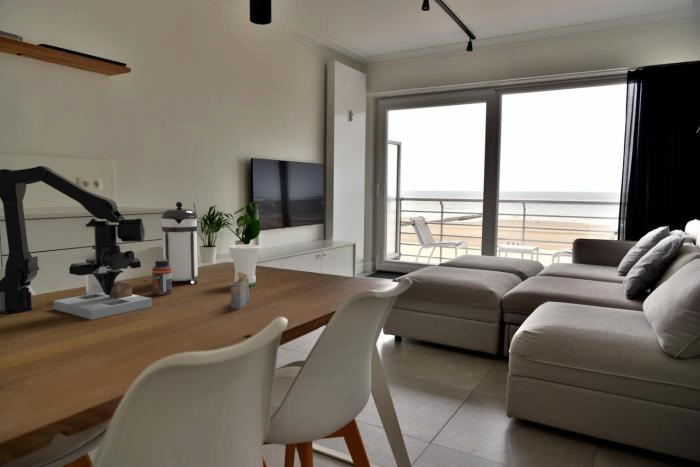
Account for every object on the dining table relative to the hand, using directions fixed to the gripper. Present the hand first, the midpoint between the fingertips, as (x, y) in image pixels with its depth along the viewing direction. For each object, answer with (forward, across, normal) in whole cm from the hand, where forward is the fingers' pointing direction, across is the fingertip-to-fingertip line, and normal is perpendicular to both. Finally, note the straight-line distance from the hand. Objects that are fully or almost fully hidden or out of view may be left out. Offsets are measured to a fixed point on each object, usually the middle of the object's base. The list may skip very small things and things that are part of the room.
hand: (107, 294), depth 145 cm
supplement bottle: (+4, +21, +3) cm, 21 cm away
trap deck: (+4, -1, 0) cm, 4 cm away
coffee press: (+4, +38, +16) cm, 41 cm away
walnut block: (+1, +4, 0) cm, 4 cm away
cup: (+4, +48, -8) cm, 49 cm away
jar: (+4, +8, +17) cm, 19 cm away
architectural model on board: (+4, +25, -29) cm, 38 cm away
